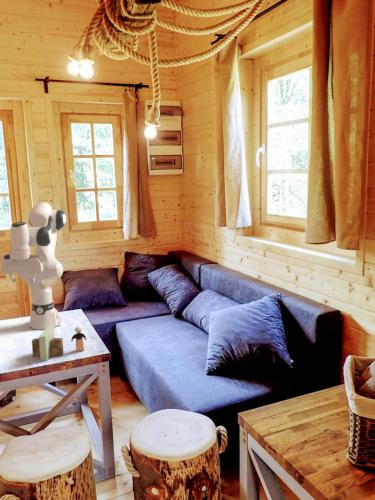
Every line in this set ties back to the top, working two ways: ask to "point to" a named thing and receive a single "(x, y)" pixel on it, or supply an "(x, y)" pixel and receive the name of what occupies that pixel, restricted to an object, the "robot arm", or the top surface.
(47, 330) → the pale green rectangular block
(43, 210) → the robot arm
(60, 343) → the wooden u-shaped block
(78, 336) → the grandmother figurine
